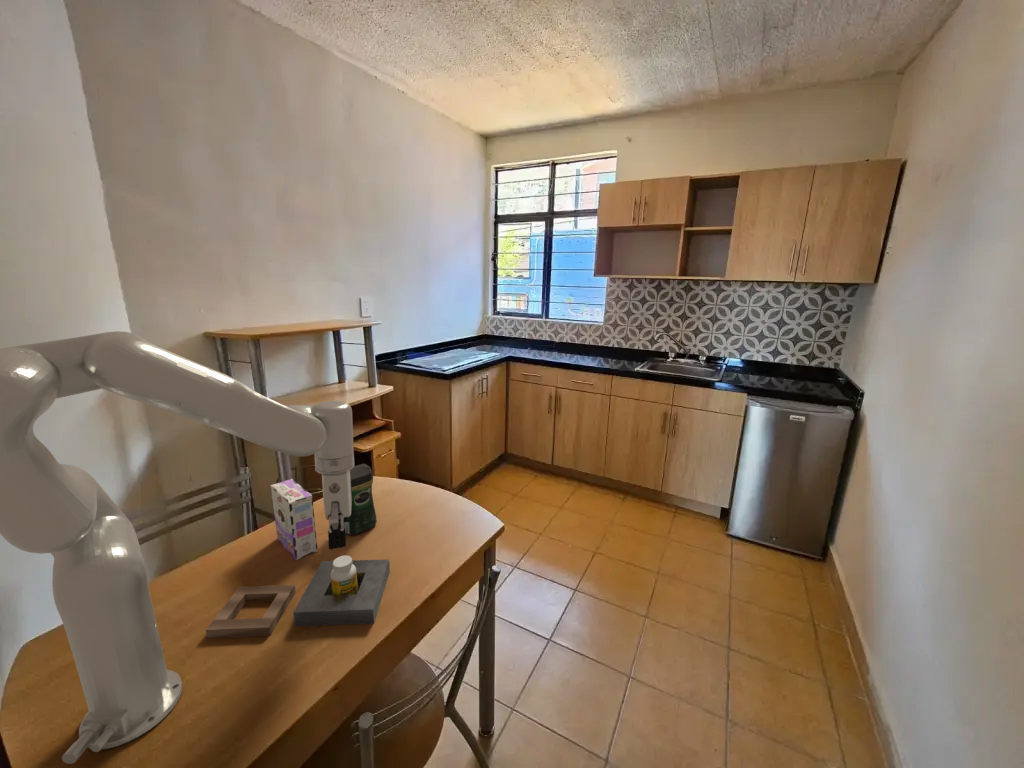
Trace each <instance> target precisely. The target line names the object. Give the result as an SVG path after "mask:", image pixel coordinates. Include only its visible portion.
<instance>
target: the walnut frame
mask: <svg viewBox="0 0 1024 768" xmlns="http://www.w3.org/2000/svg"><path fill="white" fill-rule="evenodd" d="M295 595H296V585H295V584H282V585H281V584H278V585H277V584H276V585H254V586H253V585H251V586H239V587H238V588H237V590H236V591H235V592H234V593H233V594H232V596H230V598H229V600H228V601H227V602H226V603H225V604H224V605H223V607H222V608H221V610H220V611H219V612H218V614H217V615H216V616H215V617H214V618H213V620H212V621H211V622H210V624H209V625H208V626H207V628H206V629H205V632H206V633H205V634H206V638H207V639H221V638H243V637H247V638H248V637H267V636H272V633H273V631H274V630H275V628H276V626H277V625H278V623H279V621H280V620H281V618H282V616H283V615H284V613H285V611H286V610H287V607H288V606H289V604H290V603H291V601H292V600H293V597H294V596H295ZM252 602H253V603H257V602H271V604H270V605H269V607H268V608H267V610H266V612H265V613H264V615H262V617H254V618H252V617H251V618H236V617H237V616H238V614H239V613H240V612H241V610H242V608H244V606H245V605H246V603H252Z"/></svg>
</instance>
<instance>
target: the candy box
mask: <svg viewBox="0 0 1024 768" xmlns="http://www.w3.org/2000/svg"><path fill="white" fill-rule="evenodd" d="M270 491H271V492H270V493H271V494H270V495H271V500H272V509H273V515H274V516H273V517H274V523H275V529H276V537H277V540H278V542H280V544H281V545H282V546H283V547H284V549H286V551H287V552H288V553H289V554H290V555H291V557H293V559H294V560H295V561H298V560H300V559H302V558H305V557H307V556H310V555H312V554H314V553H317V552H318V551H319V550H318V541H317V540H318V539H317V532H316V521H315V519H316V518H315V508H314V501H313V500H314V498H313V495H312V493H310V492H308V491H307V490H306V488H305V489H304V487H302V486H301V485H300V484H299V483H298V482H296V481H295V480H294V479H293V478H291V479H287V480H284V481H281V482H277V483H274V484H270Z"/></svg>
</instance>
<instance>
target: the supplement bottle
mask: <svg viewBox="0 0 1024 768" xmlns="http://www.w3.org/2000/svg"><path fill="white" fill-rule="evenodd" d="M332 561H333V570H332V571H331V585H332V595H353V594H357V593H358V591H359V587H358V585H357V572H356V567H355V566H354V565H353V564H352V561H353V558H352V557H351V556H350V555H341V556H338V557H337V558H335V559H334V560H332Z"/></svg>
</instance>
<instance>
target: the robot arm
mask: <svg viewBox="0 0 1024 768" xmlns="http://www.w3.org/2000/svg"><path fill="white" fill-rule="evenodd" d="M98 390H105V391H107V392H109V393H113V394H115V395H118V396H121V397H124V398H126V399H130V400H133V401H136V402H139V403H142V404H145V405H149V406H152V407H155V408H157V409H160V410H163V411H166V412H170V413H173V414H176V415H178V416H181V417H183V418H188V419H190V420H193V421H196V422H199V423H202V424H204V425H207V426H208V427H211V428H214V429H216V430H218V431H222V432H224V433H227V434H230V435H233V436H235V437H238V438H240V439H242V440H244V441H248V442H250V443H253V444H255V445H259V446H260V447H264V448H267V449H270V450H273V451H276V452H279V453H283V454H286V455H289V456H293V457H298V458H300V457H303V458H304V457H309V456H312V455H314V468H315V472H316V473H318V474H320V475H321V482H322V499H323V510H324V516H325V519H326V520H327V521H328V531H327V535H328V536H327V537H328V539H327V540H328V549H329V550H334V549H341V548H346V546H347V537H346V535H347V534H346V533H345V528H344V522H347V517H350V515H351V506H352V496H351V478H350V470H351V469H352V468H353V467H354V466H355V450H354V447H355V445H354V428H353V427H354V425H353V422H354V421H353V409H352V407H351V405H350V404H349V403H348V402H346V401H342V400H328V401H322V402H318V403H316V404H287V405H285V404H281V403H280V402H277V401H275V400H273V399H271V398H269V397H266V396H265V395H263V394H261V393H259V392H257V391H256V390H254V389H252V388H250V387H249V386H247V385H246V384H244V383H242V382H241V381H239V380H237V379H235V378H234V377H231V376H230V375H228V374H225V373H223V372H221V371H218V370H215V369H213V368H211V367H208V366H206V365H205V364H201V363H199V362H196V361H194V360H192V359H189V358H187V357H184V356H182V355H179V354H178V353H176V352H172V351H170V350H168V349H166V348H163V347H161V346H158V345H156V344H154V343H151V342H150V341H148V340H147V339H145V338H144V337H142V336H140V335H139V334H135V333H133V332H129V331H128V332H127V331H116V330H115V331H107V332H102V333H95V334H89V335H83V336H77V337H70V338H64V339H63V338H62V339H57V340H56V339H55V340H49V341H44V342H43V341H42V342H36V343H29V344H21V345H15V346H9V347H3V348H0V535H1V536H2V538H3V539H4V540H5V541H7V542H8V543H9V544H10V545H11V546H13V547H15V548H17V549H19V550H20V551H23V552H27V553H31V554H40V555H43V554H51V555H52V557H53V564H52V580H51V581H52V582H51V583H52V584H51V585H52V596H53V600H54V603H55V607H56V611H57V612H58V615H59V617H60V619H61V621H62V625H63V627H64V630H65V634H66V637H67V639H68V644H69V646H70V647H69V648H70V650H71V653H72V657H73V661H74V662H75V667H76V670H77V673H78V678H79V681H80V684H81V688H82V690H83V695H84V699H85V702H86V706H87V710H88V711H87V712H86V713H85V715H84V717H83V718H82V720H81V722H80V725H79V729H78V736H79V738H78V739H76V741H74V742H73V744H72V745H70V747H69V748H67V750H66V752H64V753H63V755H62V756H61V760H62V762H63V763H65V764H67V765H69V764H71V765H72V764H74V763H76V762H77V761H78V759H79V758H80V757H81V756H82V755H83V754H84V753H85V751H86V750H87V749H90V750H91V751H92V752H94V753H99V752H100V751H102V750H108V749H112V748H115V747H119V746H121V745H124V744H126V743H130V742H131V741H133V740H135V739H137V738H138V737H140V736H143V734H144V735H145V733H147V732H149V730H151V729H152V728H153V727H155V726H157V725H158V724H159V723H160V722H161V721H162V720H163V719H165V717H166V716H168V714H169V713H170V712H171V711H172V710H173V709H174V707H175V706H176V704H177V703H178V701H179V699H180V697H181V695H182V692H183V682H182V678H181V676H180V674H179V673H177V672H176V671H173V670H170V669H167V665H166V661H165V656H164V651H163V647H162V643H161V637H160V633H159V628H158V624H157V618H156V614H155V611H154V607H153V602H152V601H153V600H152V597H151V593H150V592H151V591H150V587H149V580H148V575H147V574H148V573H147V567H146V564H145V563H146V562H145V559H144V555H143V553H142V549H141V545H140V543H139V539H138V536H137V532H136V530H135V528H134V525H133V524H132V522H131V520H130V519H129V518H128V517H127V516H126V515H125V513H124V512H123V511H122V510H121V509H120V508H119V507H118V505H117V504H116V503H115V501H114V500H113V499H112V498H111V497H110V496H109V494H108V493H107V492H106V491H105V490H104V488H103V487H102V486H101V484H99V483H98V481H97V480H96V479H95V478H94V476H92V475H91V474H90V473H88V472H87V471H85V470H84V469H83V468H80V467H77V466H74V465H70V464H63V463H60V462H58V460H57V459H56V458H55V456H54V455H53V453H52V452H51V451H50V450H49V448H48V447H46V445H45V444H44V443H42V442H41V441H40V440H39V439H38V438H37V436H36V435H35V433H34V424H35V423H36V421H37V420H38V419H39V417H41V416H42V415H43V414H44V413H45V412H46V411H48V410H49V409H50V408H51V406H52V405H53V404H54V403H55V401H56V399H60V398H64V397H70V396H75V395H79V394H84V393H87V392H92V391H98ZM340 523H341V524H340Z"/></svg>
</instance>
